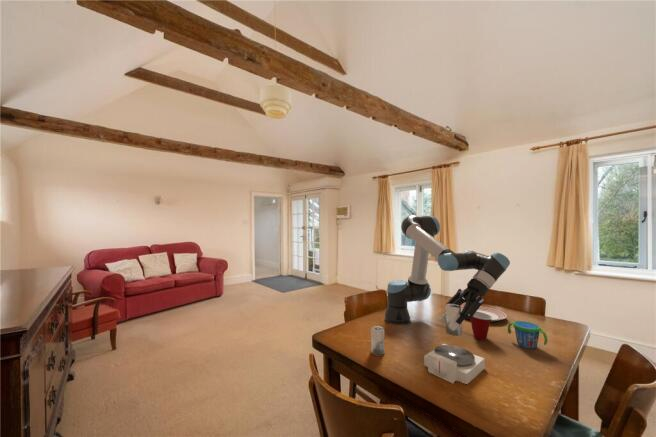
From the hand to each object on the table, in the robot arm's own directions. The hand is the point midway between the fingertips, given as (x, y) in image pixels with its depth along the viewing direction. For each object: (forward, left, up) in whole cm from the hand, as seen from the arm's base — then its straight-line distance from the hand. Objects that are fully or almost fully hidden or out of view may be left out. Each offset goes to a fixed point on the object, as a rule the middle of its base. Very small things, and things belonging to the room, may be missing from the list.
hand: (445, 325), depth 108 cm
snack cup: (+16, +48, -18) cm, 54 cm away
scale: (+2, +1, -17) cm, 18 cm away
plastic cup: (-2, +41, -18) cm, 45 cm away
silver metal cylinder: (+2, +3, -3) cm, 5 cm away
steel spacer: (-26, -12, -18) cm, 34 cm away
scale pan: (+2, +3, -13) cm, 14 cm away
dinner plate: (-14, +73, -18) cm, 77 cm away
